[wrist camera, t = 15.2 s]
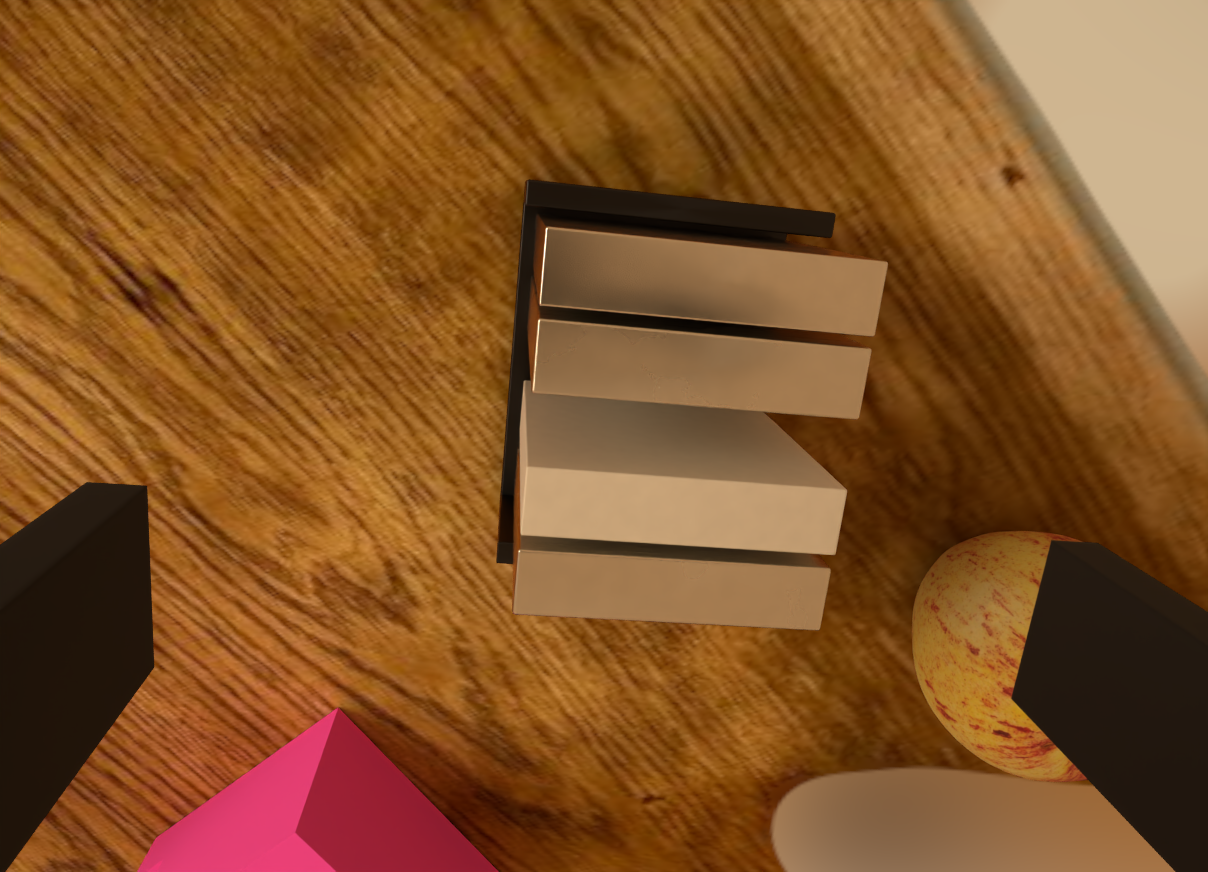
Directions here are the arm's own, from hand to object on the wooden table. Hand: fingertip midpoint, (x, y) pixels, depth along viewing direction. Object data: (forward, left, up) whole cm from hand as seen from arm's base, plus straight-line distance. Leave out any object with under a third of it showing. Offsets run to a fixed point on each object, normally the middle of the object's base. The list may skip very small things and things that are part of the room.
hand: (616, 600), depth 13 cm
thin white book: (+3, +3, -22) cm, 23 cm away
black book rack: (+1, +3, -23) cm, 23 cm away
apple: (+10, +19, -23) cm, 32 cm away
